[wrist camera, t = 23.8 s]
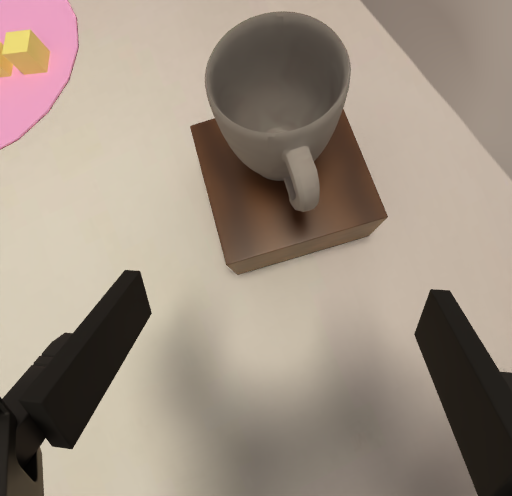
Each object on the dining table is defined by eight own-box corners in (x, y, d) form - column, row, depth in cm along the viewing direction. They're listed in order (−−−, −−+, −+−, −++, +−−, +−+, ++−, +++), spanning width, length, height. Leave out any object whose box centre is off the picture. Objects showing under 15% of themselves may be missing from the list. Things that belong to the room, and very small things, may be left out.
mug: (221, 126, 29) (189, 34, 19) (312, 98, 29) (324, -9, 19) (254, 246, 26) (236, 205, 17) (356, 216, 26) (395, 158, 16)
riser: (324, 120, 35) (332, 80, 29) (369, 235, 31) (388, 216, 25) (206, 157, 35) (189, 125, 29) (237, 275, 32) (226, 265, 26)
